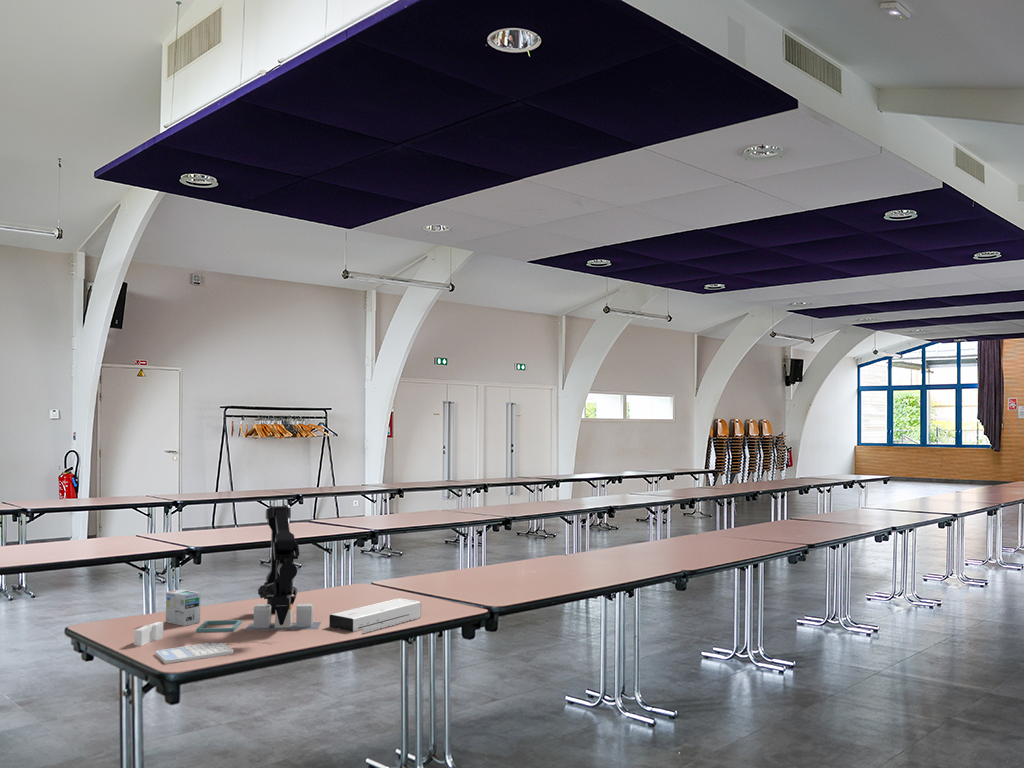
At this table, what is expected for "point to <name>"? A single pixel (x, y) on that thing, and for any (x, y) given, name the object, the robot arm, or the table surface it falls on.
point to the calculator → (194, 652)
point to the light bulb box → (183, 607)
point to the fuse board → (293, 627)
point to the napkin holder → (148, 633)
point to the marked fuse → (287, 620)
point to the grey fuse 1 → (262, 616)
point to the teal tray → (203, 629)
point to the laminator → (376, 615)
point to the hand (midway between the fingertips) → (283, 621)
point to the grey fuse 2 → (304, 615)
